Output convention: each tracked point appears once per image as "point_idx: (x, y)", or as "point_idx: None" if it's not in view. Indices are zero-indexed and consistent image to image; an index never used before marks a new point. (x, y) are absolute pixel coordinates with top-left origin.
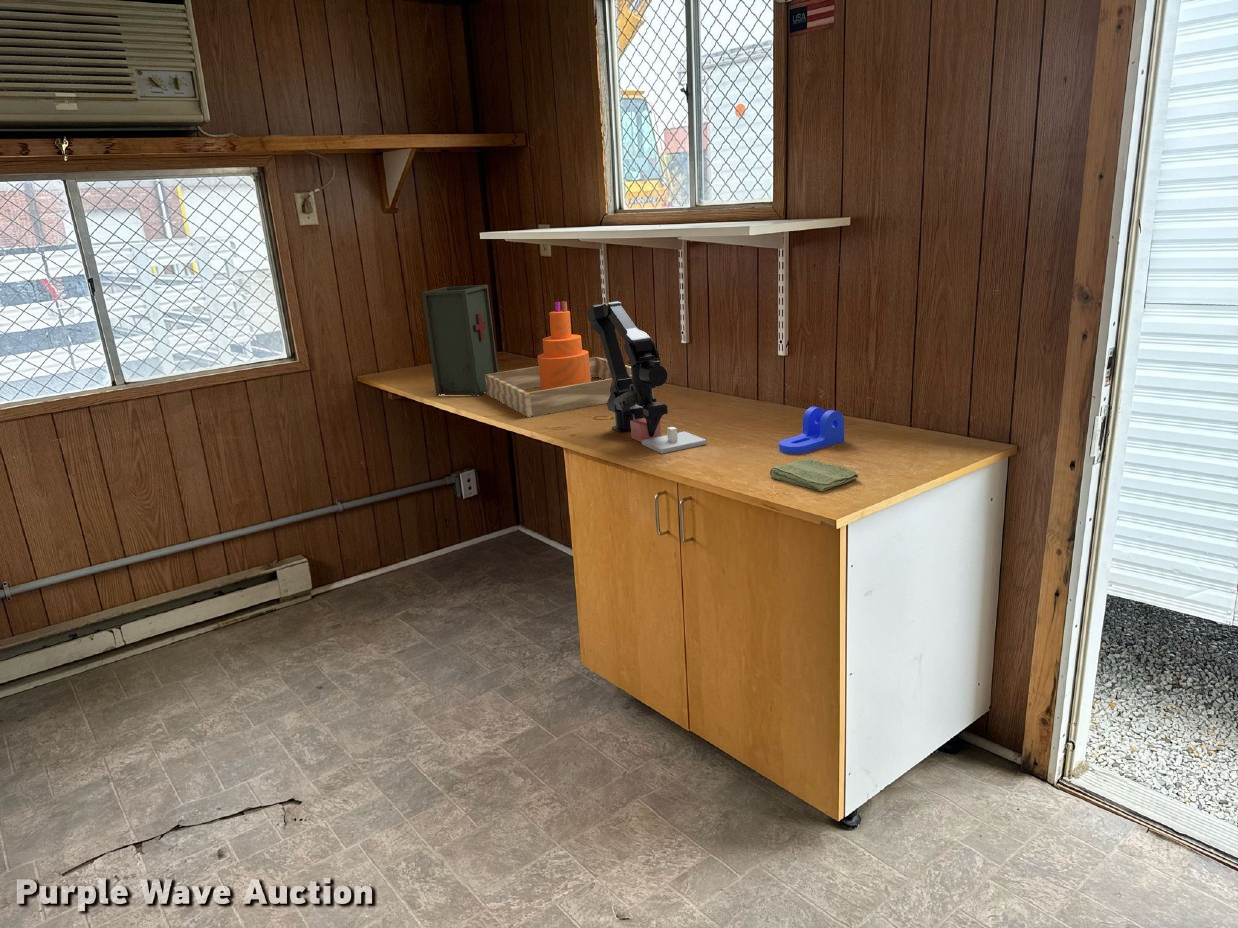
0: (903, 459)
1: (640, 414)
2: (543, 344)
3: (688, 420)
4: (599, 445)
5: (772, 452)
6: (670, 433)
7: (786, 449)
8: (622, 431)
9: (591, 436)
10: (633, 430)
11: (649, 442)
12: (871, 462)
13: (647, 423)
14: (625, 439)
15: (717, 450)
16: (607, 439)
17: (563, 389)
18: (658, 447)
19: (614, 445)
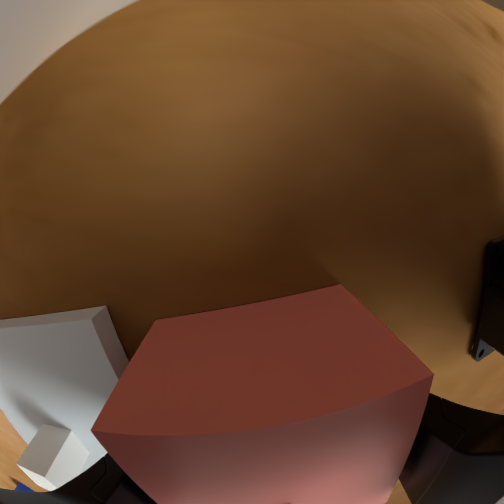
0: None
1: (431, 487)
2: None
3: (402, 491)
4: (254, 4)
5: (20, 479)
6: (30, 451)
7: (17, 487)
8: (486, 258)
9: (476, 69)
10: (312, 332)
11: (32, 340)
12: (3, 485)
13: (102, 478)
14: (328, 224)
15: (17, 450)
16: (396, 98)
17: None
18: None
19: (184, 88)
